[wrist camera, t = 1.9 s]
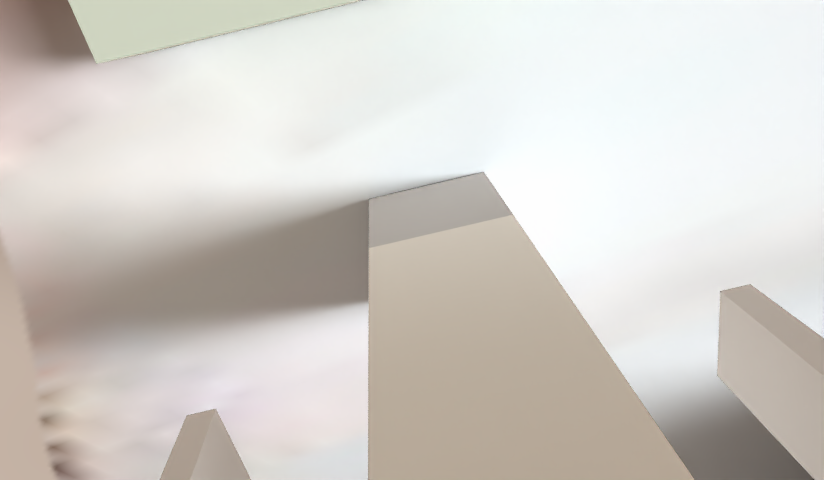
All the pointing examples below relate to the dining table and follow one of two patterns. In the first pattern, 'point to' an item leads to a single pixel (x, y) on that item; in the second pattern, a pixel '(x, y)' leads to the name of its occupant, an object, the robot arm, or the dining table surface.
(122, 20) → the socket plate
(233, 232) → the dining table surface
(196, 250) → the dining table surface
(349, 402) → the dining table surface
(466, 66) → the dining table surface
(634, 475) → the plug
